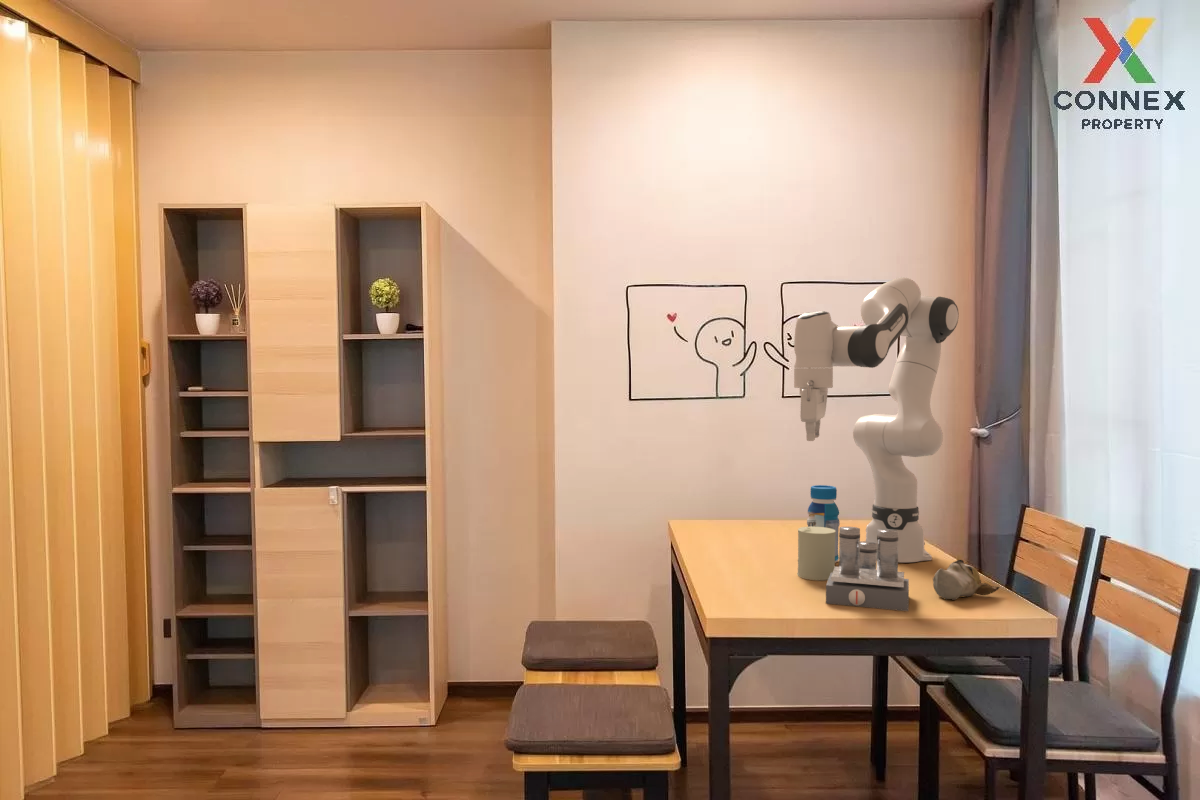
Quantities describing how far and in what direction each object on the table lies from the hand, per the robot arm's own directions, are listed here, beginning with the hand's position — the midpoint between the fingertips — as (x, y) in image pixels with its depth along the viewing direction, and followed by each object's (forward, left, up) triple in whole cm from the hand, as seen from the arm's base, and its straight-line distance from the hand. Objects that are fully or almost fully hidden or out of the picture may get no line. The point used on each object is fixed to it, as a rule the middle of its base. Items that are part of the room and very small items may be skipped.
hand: (813, 439), depth 194 cm
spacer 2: (-5, +12, -35) cm, 37 cm away
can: (-10, 0, -35) cm, 37 cm away
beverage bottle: (-27, 0, -35) cm, 44 cm away
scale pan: (+8, +13, -30) cm, 34 cm away
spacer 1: (+8, +9, -29) cm, 32 cm away
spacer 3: (+8, +17, -29) cm, 35 cm away
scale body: (+8, +13, -35) cm, 38 cm away
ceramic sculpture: (-3, +33, -35) cm, 48 cm away
